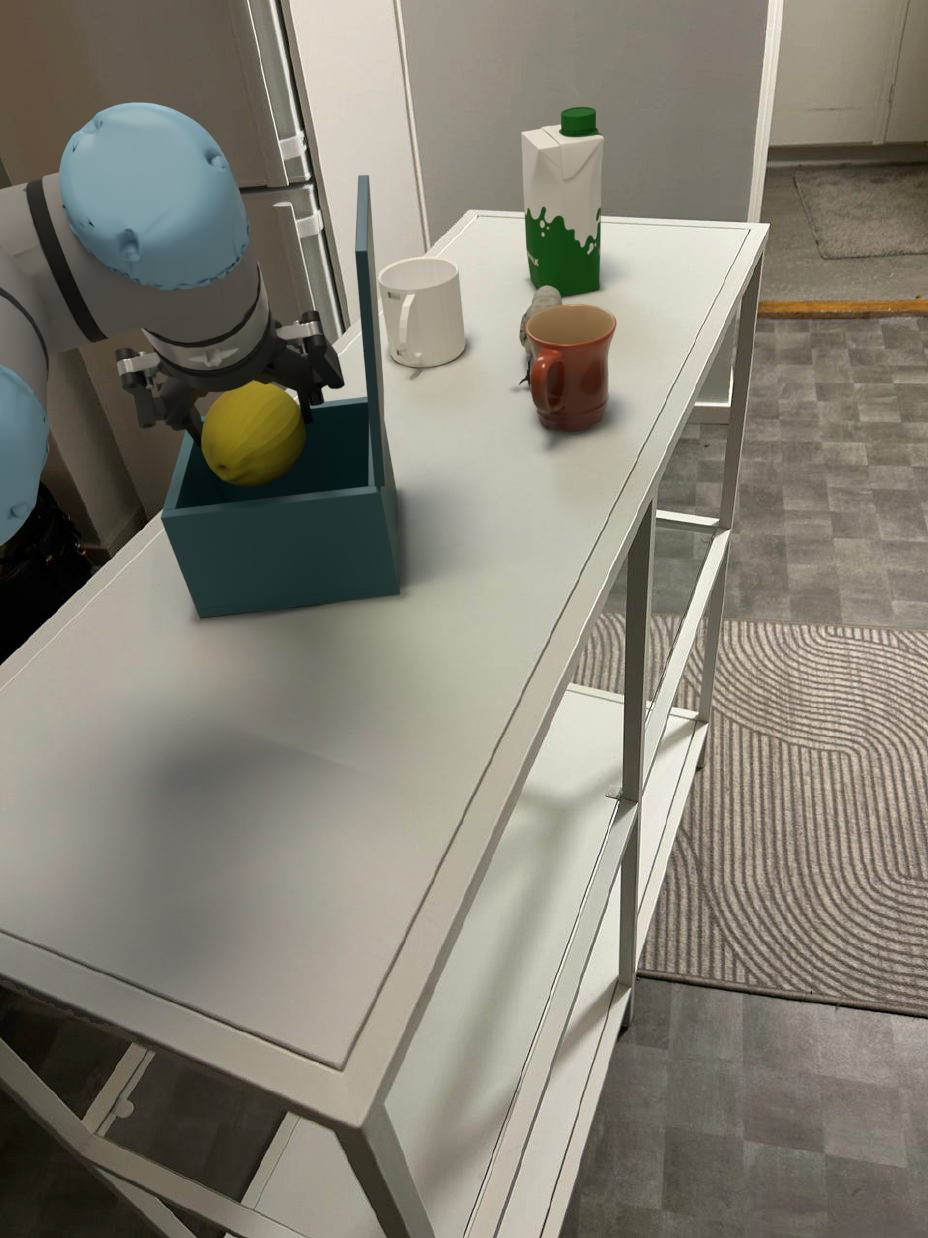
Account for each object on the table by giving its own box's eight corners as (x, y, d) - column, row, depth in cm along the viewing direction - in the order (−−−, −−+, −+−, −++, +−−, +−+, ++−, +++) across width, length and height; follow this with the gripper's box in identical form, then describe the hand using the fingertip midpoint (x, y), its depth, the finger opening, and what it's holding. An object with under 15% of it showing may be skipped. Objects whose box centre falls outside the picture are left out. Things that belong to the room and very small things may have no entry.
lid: (354, 250, 58) (367, 250, 58) (358, 174, 69) (368, 174, 69) (374, 487, 70) (385, 486, 70) (374, 390, 81) (383, 389, 81)
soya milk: (608, 291, 117) (611, 117, 103) (540, 304, 116) (533, 130, 102) (586, 265, 123) (585, 99, 110) (520, 278, 122) (512, 111, 109)
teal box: (199, 618, 78) (160, 517, 71) (221, 513, 89) (189, 417, 82) (399, 595, 77) (380, 491, 70) (396, 492, 89) (380, 394, 81)
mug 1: (412, 328, 114) (401, 253, 108) (478, 337, 111) (471, 259, 105) (364, 374, 107) (350, 296, 100) (433, 385, 103) (423, 305, 97)
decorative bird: (571, 324, 111) (570, 263, 106) (566, 392, 99) (565, 327, 94) (526, 326, 112) (523, 265, 107) (516, 393, 100) (512, 329, 95)
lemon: (262, 437, 82) (239, 354, 77) (336, 451, 79) (318, 366, 74) (186, 505, 75) (155, 419, 70) (265, 524, 73) (239, 436, 67)
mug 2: (552, 389, 100) (549, 298, 93) (627, 404, 96) (630, 310, 89) (499, 446, 93) (492, 351, 86) (579, 464, 89) (578, 367, 82)
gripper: (39, 409, 54) (136, 489, 76) (393, 338, 56) (385, 436, 79) (10, 285, 54) (115, 401, 76) (364, 220, 56) (365, 351, 79)
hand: (252, 419), depth 77 cm, fingers closed on lemon, 8 cm apart
